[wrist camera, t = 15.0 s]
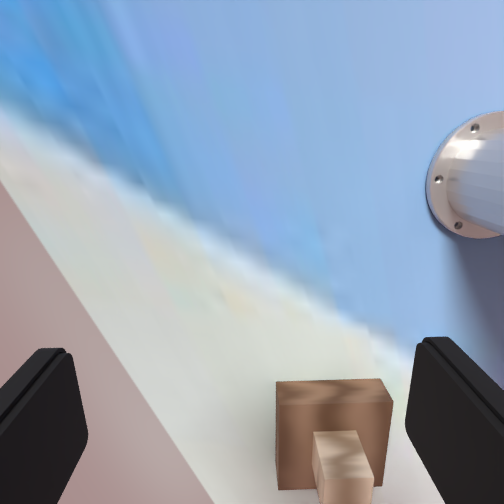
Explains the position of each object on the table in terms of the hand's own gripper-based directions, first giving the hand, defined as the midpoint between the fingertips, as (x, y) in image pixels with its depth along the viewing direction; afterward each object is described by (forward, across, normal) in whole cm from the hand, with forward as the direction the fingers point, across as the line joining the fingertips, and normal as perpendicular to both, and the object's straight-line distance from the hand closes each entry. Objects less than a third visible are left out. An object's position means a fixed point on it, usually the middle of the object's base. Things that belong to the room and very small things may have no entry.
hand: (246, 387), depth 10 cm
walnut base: (+28, -10, +29) cm, 42 cm away
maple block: (+24, -10, +29) cm, 39 cm away
